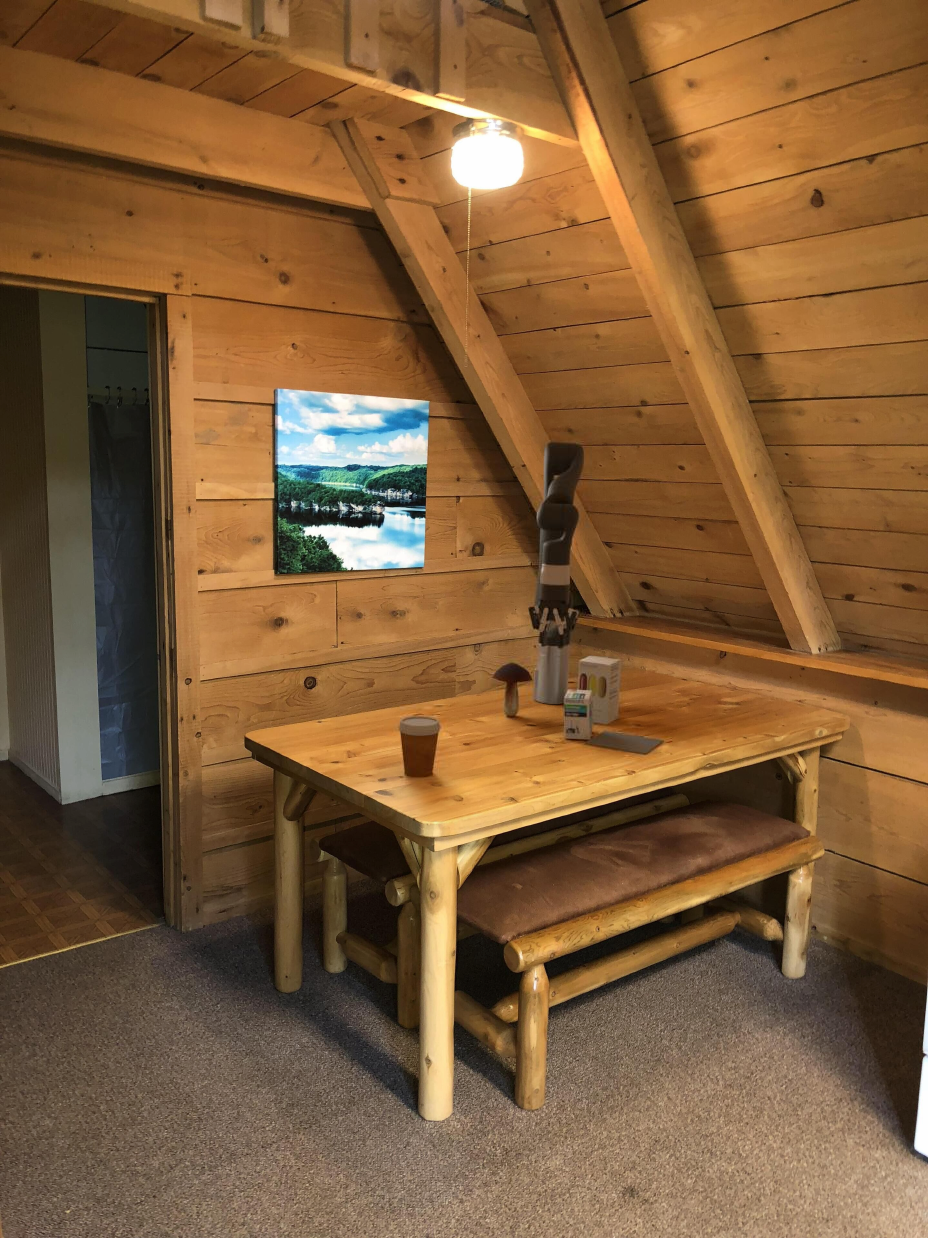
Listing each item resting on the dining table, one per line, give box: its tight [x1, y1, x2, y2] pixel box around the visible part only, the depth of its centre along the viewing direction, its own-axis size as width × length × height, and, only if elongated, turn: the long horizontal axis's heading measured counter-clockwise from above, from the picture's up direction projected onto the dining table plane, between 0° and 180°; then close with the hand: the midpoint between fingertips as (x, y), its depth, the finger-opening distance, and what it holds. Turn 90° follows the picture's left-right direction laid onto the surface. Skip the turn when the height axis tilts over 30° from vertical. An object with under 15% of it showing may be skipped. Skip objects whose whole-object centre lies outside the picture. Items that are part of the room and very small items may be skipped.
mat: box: [584, 730, 665, 755], centre depth 252 cm, size 16×14×1 cm
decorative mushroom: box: [491, 662, 533, 717], centre depth 273 cm, size 11×11×15 cm
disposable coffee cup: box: [397, 715, 442, 778], centre depth 222 cm, size 10×10×12 cm
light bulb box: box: [563, 688, 594, 741], centre depth 257 cm, size 11×7×11 cm, turn 168°
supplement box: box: [576, 655, 622, 726], centre depth 273 cm, size 10×9×17 cm
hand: (552, 646), depth 258 cm, fingers open, 4 cm apart
